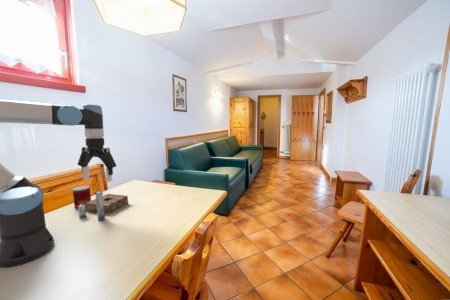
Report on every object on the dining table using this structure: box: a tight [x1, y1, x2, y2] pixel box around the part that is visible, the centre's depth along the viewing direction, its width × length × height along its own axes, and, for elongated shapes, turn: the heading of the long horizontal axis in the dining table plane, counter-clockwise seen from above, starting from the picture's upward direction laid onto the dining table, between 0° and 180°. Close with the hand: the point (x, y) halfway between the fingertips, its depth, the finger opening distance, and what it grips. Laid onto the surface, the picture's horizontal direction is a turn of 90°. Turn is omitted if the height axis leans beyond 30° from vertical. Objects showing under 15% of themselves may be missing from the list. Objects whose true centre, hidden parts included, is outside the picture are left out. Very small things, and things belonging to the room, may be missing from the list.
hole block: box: [86, 193, 129, 216], centre depth 110 cm, size 14×14×5 cm
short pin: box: [77, 204, 87, 219], centre depth 99 cm, size 3×3×6 cm
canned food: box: [72, 185, 92, 210], centre depth 112 cm, size 8×8×11 cm
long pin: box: [94, 190, 106, 222], centre depth 96 cm, size 3×3×14 cm
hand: (97, 180), depth 97 cm, fingers open, 13 cm apart
